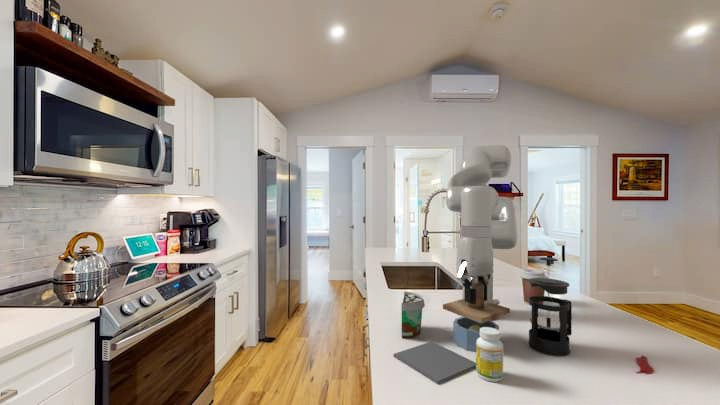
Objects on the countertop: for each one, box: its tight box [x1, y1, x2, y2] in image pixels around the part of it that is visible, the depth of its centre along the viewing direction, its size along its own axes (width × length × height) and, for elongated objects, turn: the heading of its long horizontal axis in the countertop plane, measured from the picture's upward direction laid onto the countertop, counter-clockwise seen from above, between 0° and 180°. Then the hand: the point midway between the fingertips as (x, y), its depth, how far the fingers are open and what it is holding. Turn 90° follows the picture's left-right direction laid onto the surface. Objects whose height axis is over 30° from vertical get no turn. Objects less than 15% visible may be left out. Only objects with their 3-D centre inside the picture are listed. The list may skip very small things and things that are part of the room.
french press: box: [527, 256, 573, 357], centre depth 81 cm, size 12×9×23 cm
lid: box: [442, 282, 511, 323], centre depth 84 cm, size 12×12×7 cm
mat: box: [393, 341, 476, 385], centre depth 73 cm, size 13×14×1 cm
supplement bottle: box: [475, 327, 504, 383], centre depth 67 cm, size 5×5×10 cm
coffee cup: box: [519, 268, 548, 306], centre depth 118 cm, size 9×9×12 cm
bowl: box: [452, 316, 500, 353], centre depth 83 cm, size 11×11×5 cm
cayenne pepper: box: [635, 354, 654, 375], centre depth 72 cm, size 12×5×2 cm, turn 120°
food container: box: [401, 291, 426, 340], centre depth 90 cm, size 12×6×10 cm, turn 168°
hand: (475, 300), depth 84 cm, fingers closed on lid, 4 cm apart
